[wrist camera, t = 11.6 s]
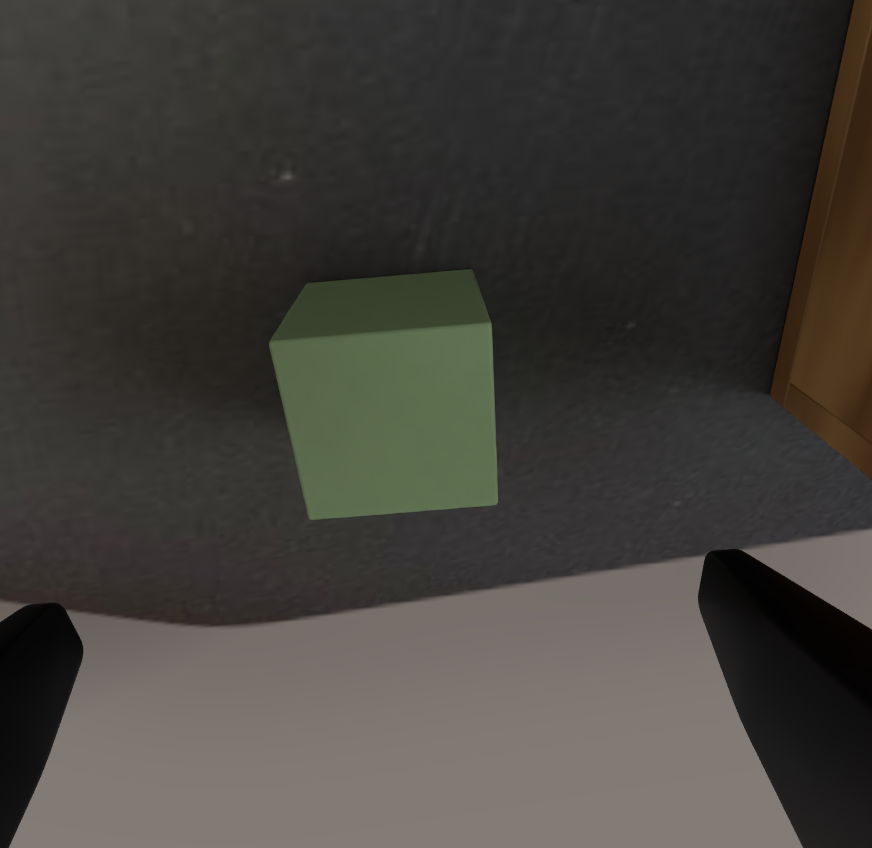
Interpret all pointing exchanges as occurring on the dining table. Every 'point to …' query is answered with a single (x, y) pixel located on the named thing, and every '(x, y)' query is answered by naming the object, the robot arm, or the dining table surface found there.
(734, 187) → the dining table surface
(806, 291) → the cabinet
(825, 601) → the robot arm
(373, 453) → the block
